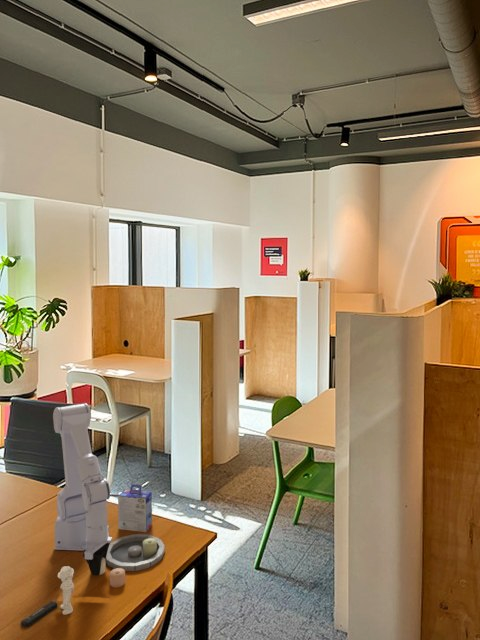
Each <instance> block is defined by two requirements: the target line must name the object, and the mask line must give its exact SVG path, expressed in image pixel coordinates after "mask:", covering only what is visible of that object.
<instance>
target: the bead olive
mask: <svg viewBox="0 0 480 640" xmlns="http://www.w3.org/2000/svg"><path fill="white" fill-rule="evenodd" d="M156 554H157V541H156V539H153V538H148V539H145V540H144V541H143V556H144V557H145V558H151V557H153V556H154V555H156Z"/></svg>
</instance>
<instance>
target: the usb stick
mask: <svg viewBox="0 0 480 640" xmlns="http://www.w3.org/2000/svg"><path fill="white" fill-rule="evenodd" d="M56 608H58V602H57V601H55V600H51V601H49V602H48V603H47V604H45V605H44V606H42V607H41V608H39V609H38V610H37V609H36V611H35V612H33V613H31V614H29V616H27V617H25V618H24V619H22V620H21V622H20V626H21V627H24V628H25V629H26V628H29V627H30V626H32V625H33V624H35V623H36V622H37V621H39V620H40V619H43V617H45V616H47V615H48V614H49V613H51V612H52V611H53V610H55V609H56Z"/></svg>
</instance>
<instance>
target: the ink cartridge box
mask: <svg viewBox="0 0 480 640" xmlns="http://www.w3.org/2000/svg"><path fill="white" fill-rule="evenodd" d="M142 486H143V485H140V484H131V486H130V489H124V490H122V492H121V493H120V494H119V495H118V496H117V500H118V501H117V502H118V503H117V507H118V508H117V509H118V512H117V515H118V516H117V517H118V519H117V520H118V530H123V531H124V530H125V531H132V532H141V533H142V532H143V533H147V532H148V531H149V530H150V528H151V527H152V525H153V507H152V506H153V503H152V502H153V494H152V493H153V492H152V491H145V490H142ZM134 488H139V489H134Z"/></svg>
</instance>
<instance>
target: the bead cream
mask: <svg viewBox="0 0 480 640" xmlns="http://www.w3.org/2000/svg"><path fill="white" fill-rule="evenodd" d="M106 564H107V562H105V558H104V557H102V561H101V569H100V574H99V575H98V576H101V575H103V574H105V572H106V570H107V569H106Z"/></svg>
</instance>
